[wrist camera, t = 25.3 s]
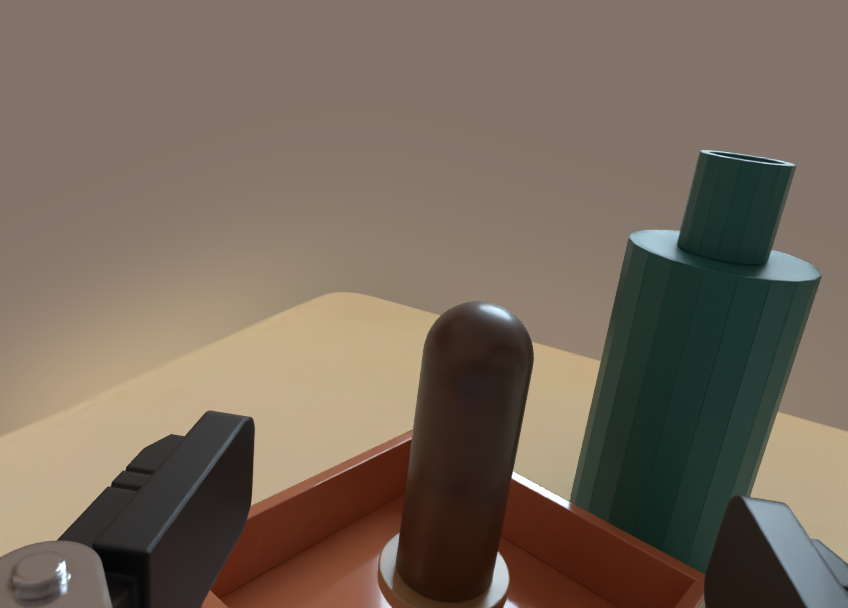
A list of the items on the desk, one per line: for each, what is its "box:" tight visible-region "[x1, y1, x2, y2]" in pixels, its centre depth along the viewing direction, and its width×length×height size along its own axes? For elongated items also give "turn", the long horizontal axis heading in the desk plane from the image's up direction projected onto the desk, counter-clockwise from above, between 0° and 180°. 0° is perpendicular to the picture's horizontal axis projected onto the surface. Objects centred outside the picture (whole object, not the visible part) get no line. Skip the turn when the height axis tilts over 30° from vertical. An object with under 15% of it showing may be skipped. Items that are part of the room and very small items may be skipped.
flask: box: [570, 150, 822, 574], centre depth 31 cm, size 8×8×18 cm
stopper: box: [377, 301, 534, 608], centre depth 23 cm, size 5×5×13 cm
